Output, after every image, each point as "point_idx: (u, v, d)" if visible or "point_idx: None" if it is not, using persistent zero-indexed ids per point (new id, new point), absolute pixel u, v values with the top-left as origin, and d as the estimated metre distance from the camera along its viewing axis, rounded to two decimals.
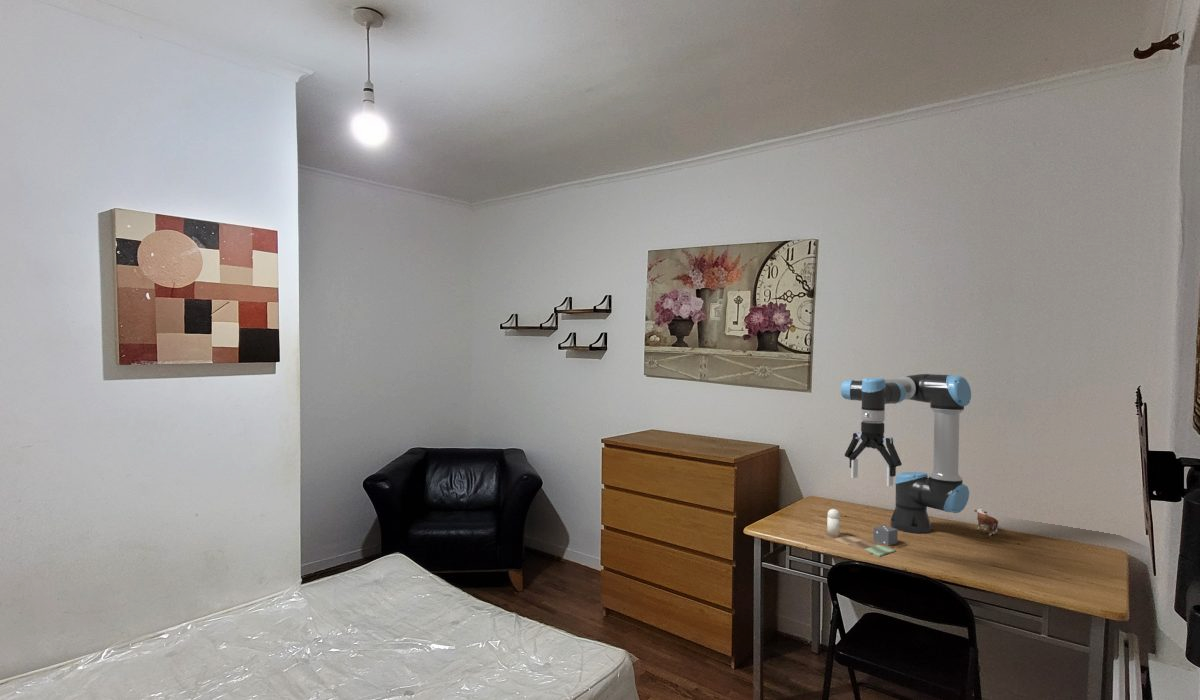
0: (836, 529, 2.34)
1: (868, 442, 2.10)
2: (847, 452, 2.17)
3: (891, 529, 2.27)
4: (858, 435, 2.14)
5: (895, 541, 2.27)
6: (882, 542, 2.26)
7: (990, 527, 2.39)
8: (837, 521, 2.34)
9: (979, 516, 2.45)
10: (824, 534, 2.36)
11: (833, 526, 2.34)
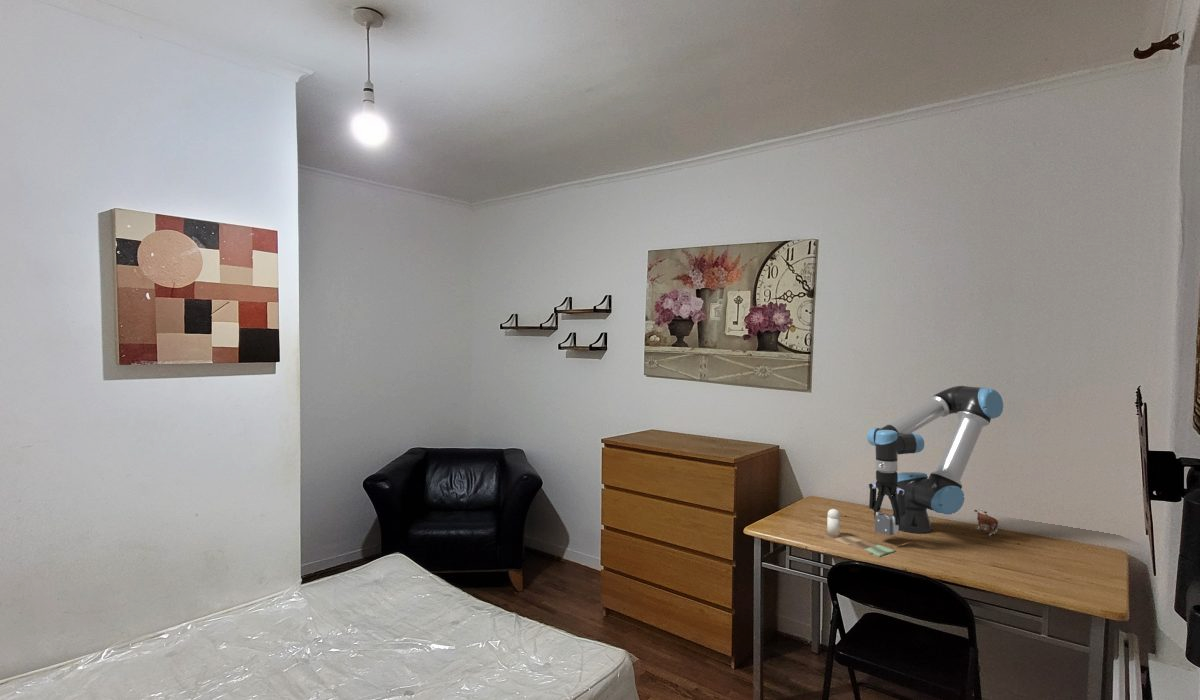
0: (836, 529, 2.34)
1: (883, 490, 2.28)
2: (870, 504, 2.32)
3: None
4: (873, 484, 2.32)
5: None
6: (883, 530, 2.26)
7: (990, 527, 2.39)
8: (837, 521, 2.34)
9: (979, 516, 2.45)
10: (824, 534, 2.36)
11: (833, 526, 2.34)
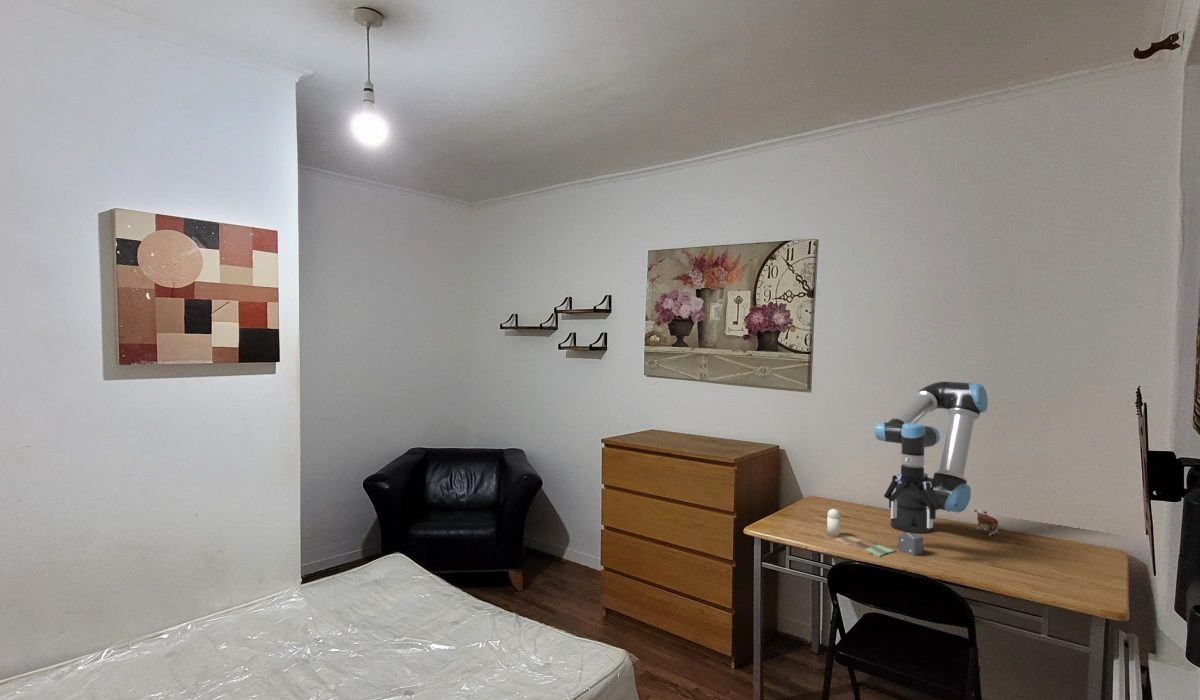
0: (836, 529, 2.34)
1: (908, 485, 2.19)
2: (887, 493, 2.26)
3: (917, 537, 2.18)
4: (898, 477, 2.23)
5: (921, 549, 2.18)
6: (908, 550, 2.17)
7: (990, 527, 2.39)
8: (837, 521, 2.34)
9: (979, 516, 2.45)
10: (824, 534, 2.36)
11: (833, 526, 2.34)
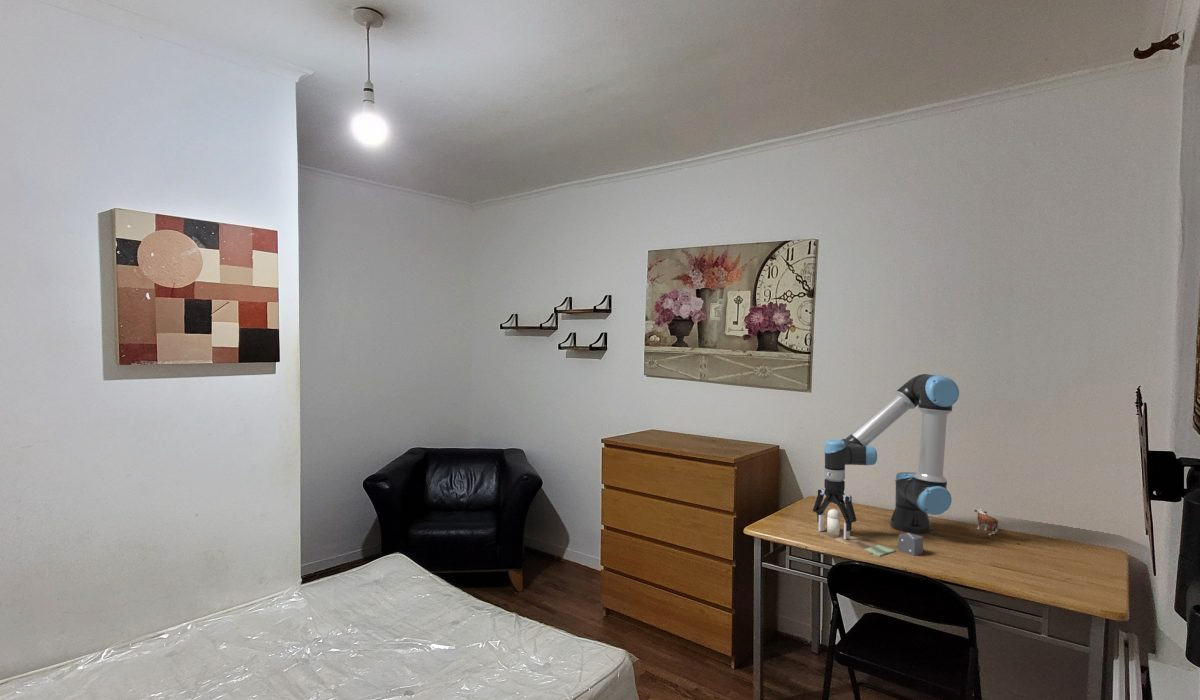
0: (836, 529, 2.34)
1: (830, 497, 2.36)
2: (815, 507, 2.42)
3: (917, 537, 2.18)
4: (822, 491, 2.40)
5: (921, 549, 2.18)
6: (908, 550, 2.17)
7: (990, 527, 2.39)
8: (837, 521, 2.34)
9: (979, 516, 2.45)
10: (824, 534, 2.36)
11: (833, 526, 2.34)
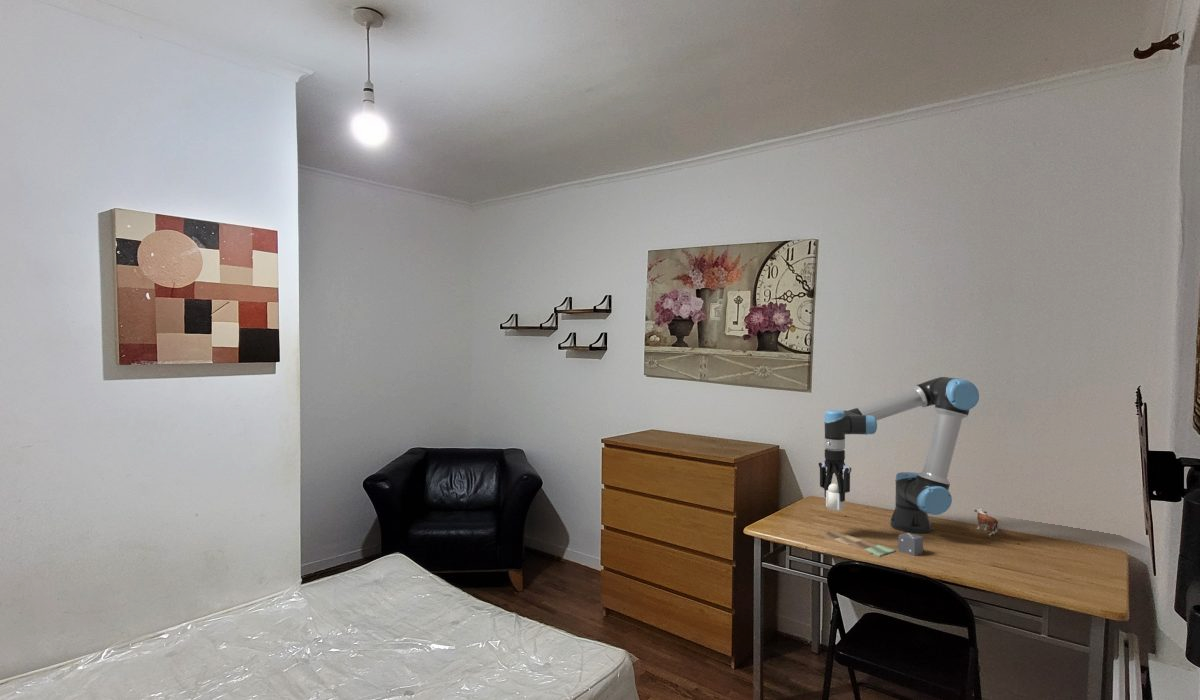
0: None
1: (831, 467, 2.36)
2: (821, 482, 2.39)
3: (917, 537, 2.18)
4: (823, 463, 2.40)
5: (921, 549, 2.18)
6: (908, 550, 2.17)
7: (990, 527, 2.39)
8: None
9: (979, 516, 2.45)
10: (824, 534, 2.36)
11: (834, 500, 2.33)
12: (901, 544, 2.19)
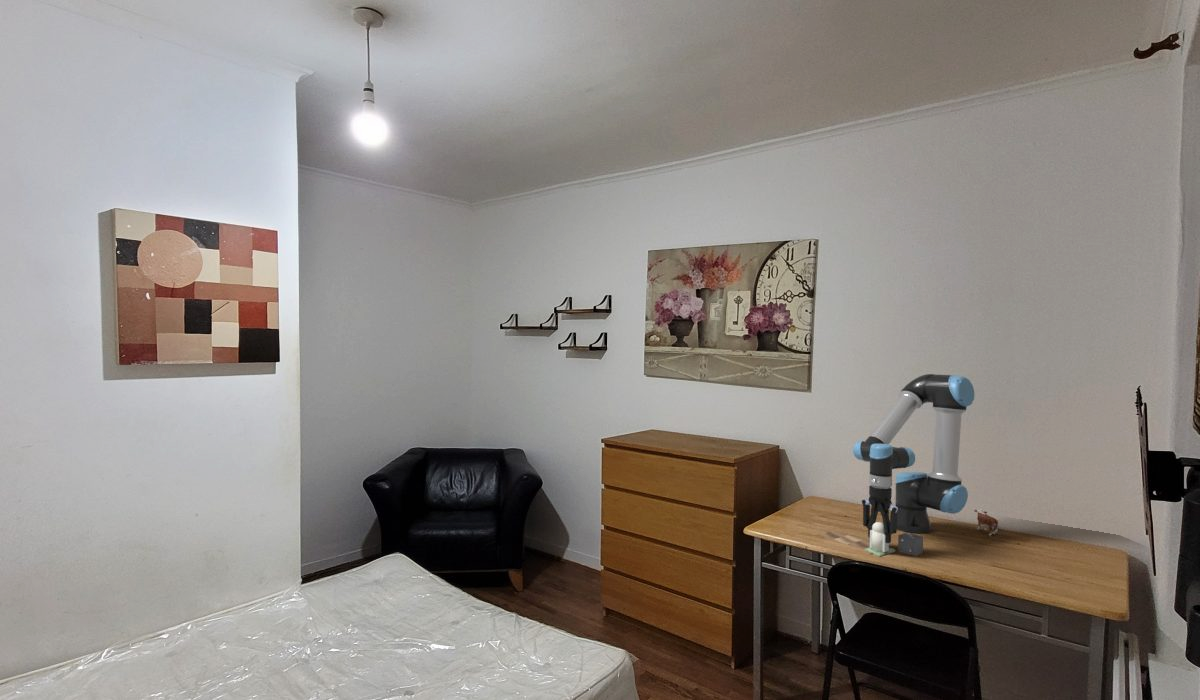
0: (882, 544, 2.17)
1: (876, 506, 2.19)
2: (864, 521, 2.23)
3: (917, 537, 2.18)
4: (866, 500, 2.23)
5: (921, 549, 2.18)
6: (908, 550, 2.17)
7: (990, 527, 2.39)
8: None
9: (979, 516, 2.45)
10: (824, 534, 2.36)
11: (879, 540, 2.17)
12: (901, 544, 2.19)
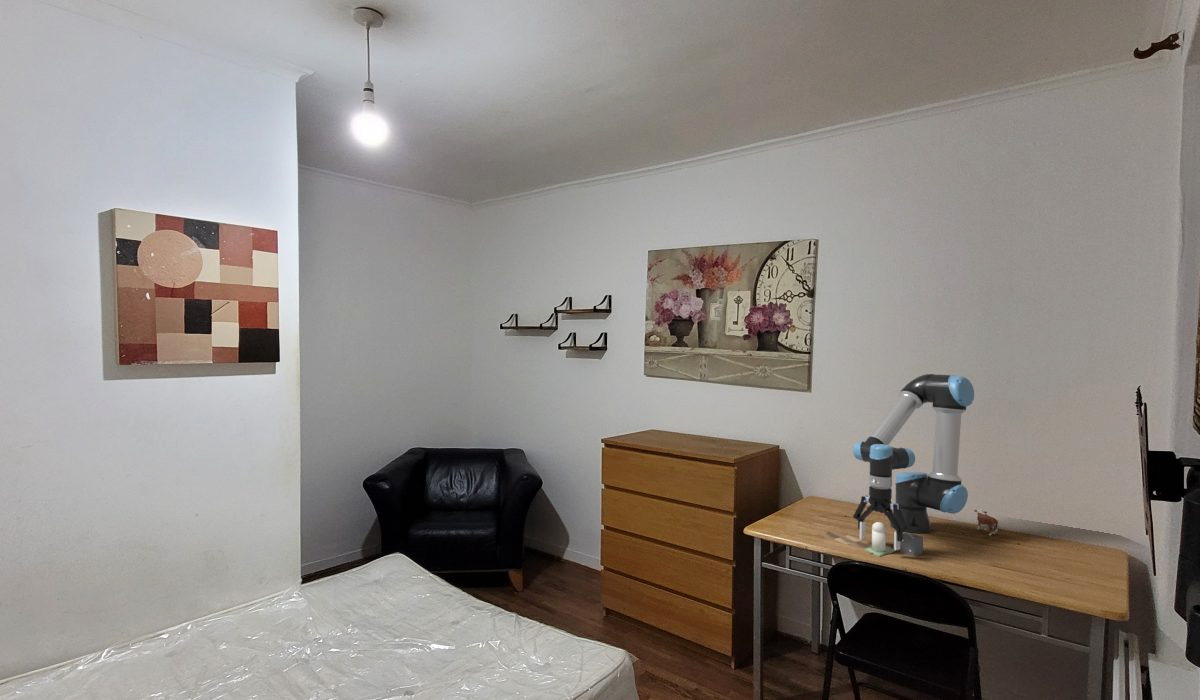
0: (882, 544, 2.17)
1: (876, 506, 2.19)
2: (855, 514, 2.26)
3: (916, 537, 2.18)
4: (866, 498, 2.23)
5: (921, 549, 2.18)
6: (908, 550, 2.17)
7: (990, 527, 2.39)
8: (883, 535, 2.17)
9: (979, 516, 2.45)
10: (824, 534, 2.36)
11: (879, 540, 2.17)
12: (901, 544, 2.19)
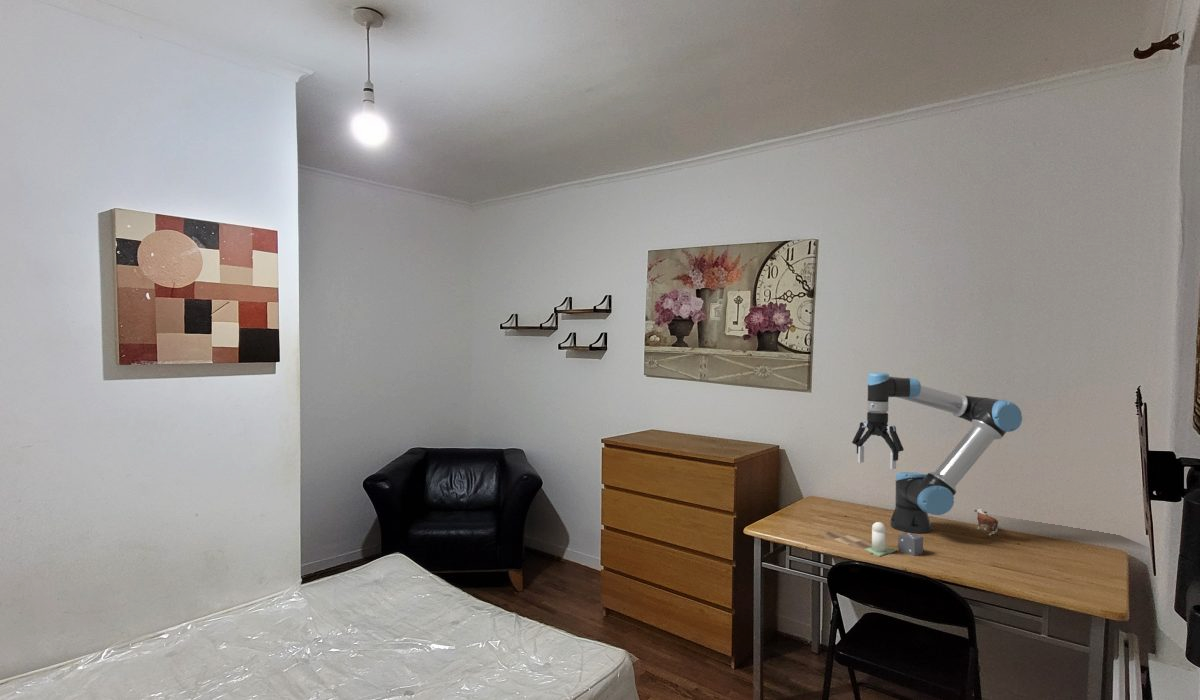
0: (882, 544, 2.17)
1: (873, 430, 2.34)
2: (854, 439, 2.41)
3: (917, 537, 2.18)
4: (864, 424, 2.38)
5: (921, 549, 2.18)
6: (908, 550, 2.17)
7: (990, 527, 2.39)
8: (883, 535, 2.17)
9: (979, 516, 2.45)
10: (824, 534, 2.36)
11: (879, 540, 2.17)
12: (901, 544, 2.19)
